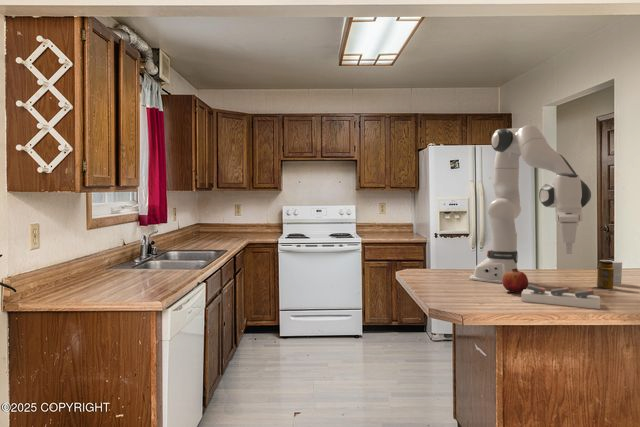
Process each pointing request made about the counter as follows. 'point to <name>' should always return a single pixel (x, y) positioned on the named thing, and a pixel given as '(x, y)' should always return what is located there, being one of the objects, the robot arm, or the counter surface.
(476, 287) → the counter surface
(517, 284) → the fruit
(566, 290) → the rocker middle
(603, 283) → the condiment
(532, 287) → the rocker left
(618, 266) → the small box
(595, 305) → the power strip
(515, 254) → the robot arm
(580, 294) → the rocker right
